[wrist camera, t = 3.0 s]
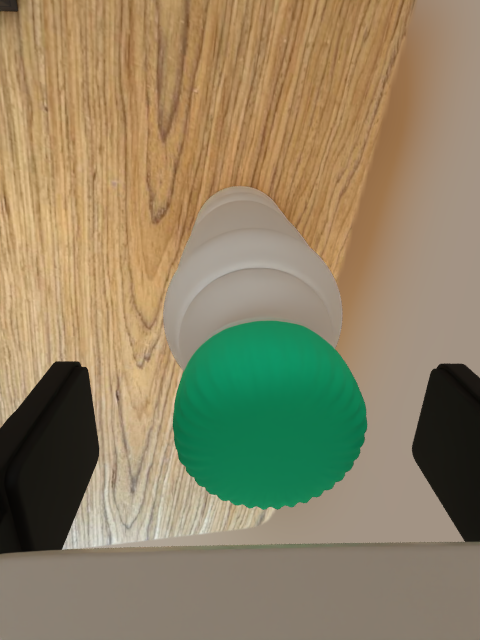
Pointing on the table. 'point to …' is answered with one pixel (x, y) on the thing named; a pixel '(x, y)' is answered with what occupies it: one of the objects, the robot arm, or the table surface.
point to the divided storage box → (8, 5)
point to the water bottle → (259, 358)
